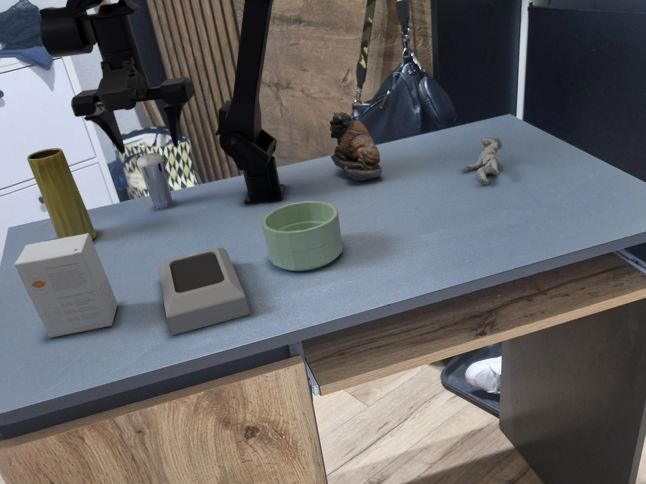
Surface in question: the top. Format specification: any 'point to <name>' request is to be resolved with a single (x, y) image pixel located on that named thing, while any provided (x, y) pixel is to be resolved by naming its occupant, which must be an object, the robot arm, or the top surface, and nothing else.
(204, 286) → the grey flat block
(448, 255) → the top surface
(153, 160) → the milkshake
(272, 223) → the sage green round tub
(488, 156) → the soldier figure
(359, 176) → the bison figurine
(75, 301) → the small box
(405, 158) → the top surface
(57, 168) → the vase
